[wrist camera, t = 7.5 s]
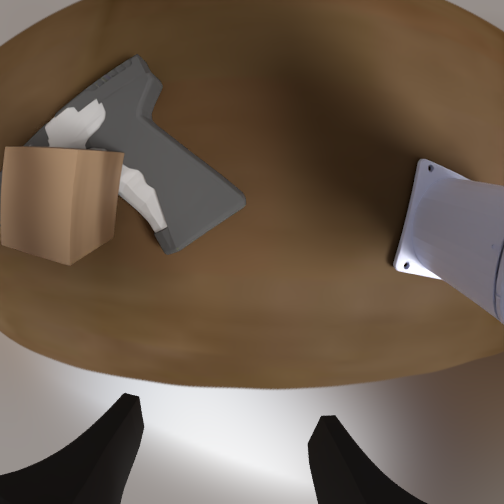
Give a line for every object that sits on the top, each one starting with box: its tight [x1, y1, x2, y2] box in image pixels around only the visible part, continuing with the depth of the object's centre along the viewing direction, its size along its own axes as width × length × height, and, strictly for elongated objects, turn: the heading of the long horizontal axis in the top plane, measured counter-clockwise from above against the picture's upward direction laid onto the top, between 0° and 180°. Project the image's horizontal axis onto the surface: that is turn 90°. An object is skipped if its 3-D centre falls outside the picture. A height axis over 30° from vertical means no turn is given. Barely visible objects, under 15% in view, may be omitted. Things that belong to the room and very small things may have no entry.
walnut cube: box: [1, 146, 124, 266], centre depth 12 cm, size 5×5×5 cm
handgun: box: [0, 54, 246, 255], centre depth 16 cm, size 2×18×12 cm
